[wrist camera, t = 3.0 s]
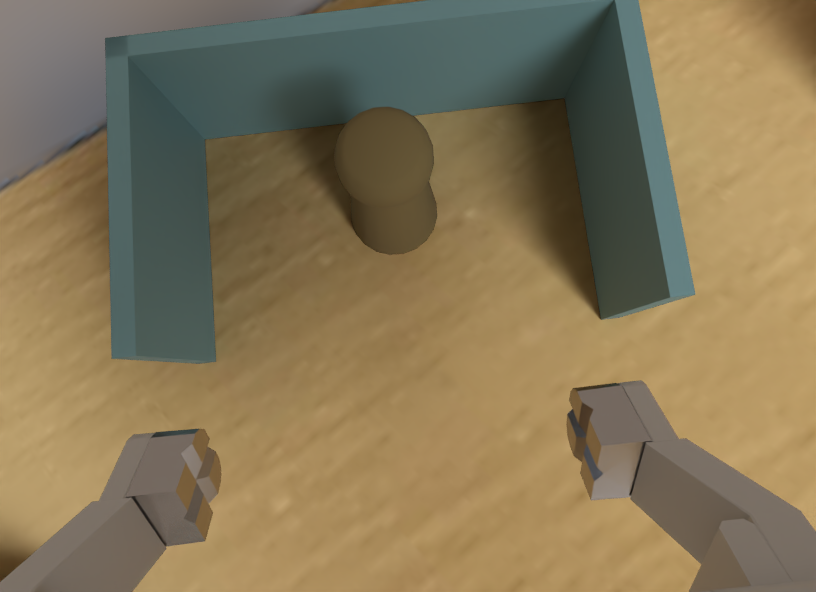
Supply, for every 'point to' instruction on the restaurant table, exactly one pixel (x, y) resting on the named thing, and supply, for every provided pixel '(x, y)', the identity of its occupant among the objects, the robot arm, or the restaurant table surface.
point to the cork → (387, 178)
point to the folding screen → (359, 91)
